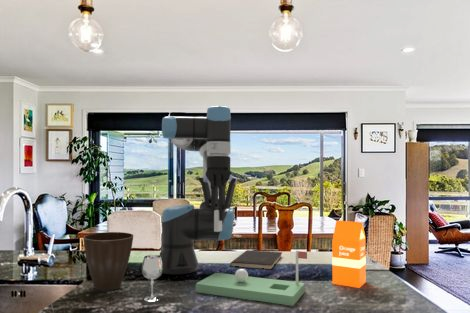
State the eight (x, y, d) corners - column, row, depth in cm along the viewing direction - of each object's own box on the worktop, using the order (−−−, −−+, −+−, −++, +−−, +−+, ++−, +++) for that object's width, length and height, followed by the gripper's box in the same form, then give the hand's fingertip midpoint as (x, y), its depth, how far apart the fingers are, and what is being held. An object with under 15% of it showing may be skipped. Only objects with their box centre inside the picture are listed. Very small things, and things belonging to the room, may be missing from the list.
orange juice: (359, 288, 127) (359, 223, 128) (332, 283, 132) (331, 221, 132) (366, 282, 134) (365, 221, 134) (339, 278, 138) (339, 219, 139)
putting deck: (195, 291, 122) (195, 250, 123) (215, 280, 135) (216, 242, 135) (296, 306, 110) (296, 259, 110) (308, 291, 123) (308, 250, 123)
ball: (232, 283, 123) (232, 269, 123) (237, 279, 127) (238, 266, 127) (245, 284, 121) (245, 271, 122) (249, 281, 125) (250, 268, 125)
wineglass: (143, 296, 118) (143, 254, 118) (163, 295, 118) (163, 254, 119) (140, 302, 112) (140, 259, 113) (161, 302, 113) (161, 258, 113)
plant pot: (140, 282, 132) (141, 232, 133) (118, 296, 118) (119, 240, 118) (99, 279, 135) (99, 231, 136) (72, 293, 121) (73, 238, 121)
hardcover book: (282, 257, 172) (282, 252, 172) (271, 270, 150) (271, 264, 150) (245, 255, 177) (245, 250, 177) (230, 267, 155) (230, 261, 155)
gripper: (194, 155, 127) (193, 231, 127) (232, 155, 122) (232, 234, 121) (205, 156, 134) (205, 228, 133) (242, 155, 129) (241, 230, 128)
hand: (218, 230), depth 127 cm, fingers closed
